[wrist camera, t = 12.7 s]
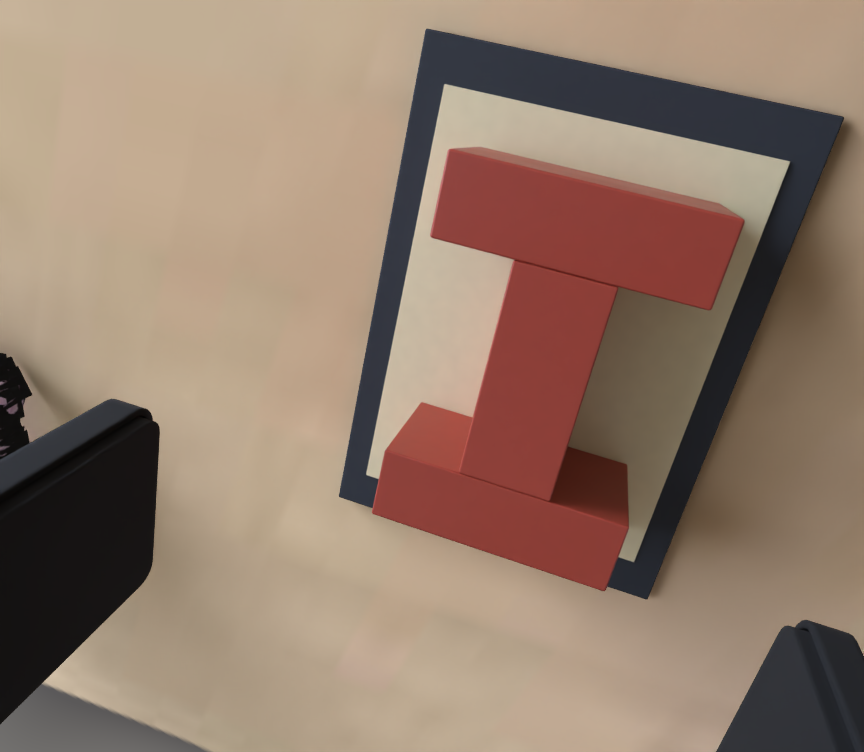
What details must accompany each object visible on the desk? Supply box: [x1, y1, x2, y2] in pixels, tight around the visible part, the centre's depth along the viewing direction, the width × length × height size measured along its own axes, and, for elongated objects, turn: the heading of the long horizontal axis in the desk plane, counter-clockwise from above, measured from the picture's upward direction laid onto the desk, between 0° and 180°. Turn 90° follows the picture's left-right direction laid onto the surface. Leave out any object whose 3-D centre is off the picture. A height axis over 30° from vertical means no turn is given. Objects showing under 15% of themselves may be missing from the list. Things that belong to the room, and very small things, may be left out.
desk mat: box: [339, 29, 844, 599], centre depth 25 cm, size 13×18×1 cm
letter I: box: [372, 147, 745, 591], centre depth 22 cm, size 8×12×4 cm, turn 168°
